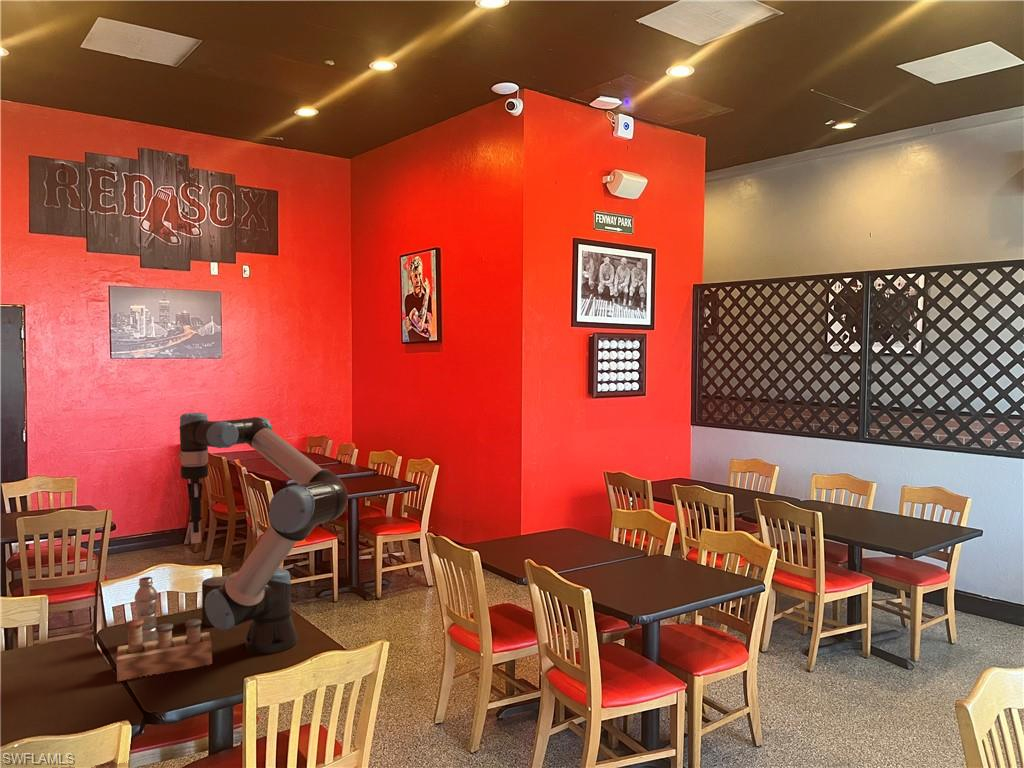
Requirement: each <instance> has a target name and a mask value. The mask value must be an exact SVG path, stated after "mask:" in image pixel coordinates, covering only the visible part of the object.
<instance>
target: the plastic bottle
mask: <svg viewBox="0 0 1024 768" xmlns="http://www.w3.org/2000/svg"><path fill="white" fill-rule="evenodd" d="M138 580H139V582H138V586H139V587H138V589H137V590H136V592H135V595H134V602H135V607H136V619H142V620H144V624H143V625H142V642H149V641H156V640H158V632H157V631H156V627H157V626H158V623H157V603H158V592H157V590H156V588H155V587H154V586H153V577H152V576H145V577H141V578H139V579H138Z"/></svg>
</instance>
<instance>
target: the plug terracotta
mask: <svg viewBox="0 0 1024 768" xmlns="http://www.w3.org/2000/svg"><path fill="white" fill-rule="evenodd" d="M143 624H144V620H142V619H137V618H136V619H130V620H128V621H127V622H126V623H125V627H126V628H127V645H128V654H133V653H139V652H143V642H142V625H143Z"/></svg>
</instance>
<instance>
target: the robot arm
mask: <svg viewBox="0 0 1024 768" xmlns="http://www.w3.org/2000/svg"><path fill="white" fill-rule="evenodd" d="M178 428H179V443H180V445H179V446H180V454H178V455H177V456H178V458H180V465H181V466H180V478H181V479H183V480H189V483H187V484H186V485H187V490H188V492H187V493H188V498H189V510H190V511H189V513H190V514H189V517H190V519H188V523H190V544H198V543H202V531H201V530H202V528H201V527H202V526H201V525H202V523H201V521H202V520H203V517H202V516H201V513H202V511H201V510H202V509H201V507H202V505H201V503H202V502H201V500H202V497H203V496H202V494H203V493H202V491H203V483H202V482H200V479H205V478H208V477H209V465H208V463H209V449H208V447H209V448H210V447H211V448H217V449H226V448H231V447H233V446H236V445H242V444H243V445H244V444H247V445H249V446H250V447H251V448H253V450H255V451H256V452H258V453H259V454H260V455H262V457H264V458H265V459H266V460H267V461H268V462H269V463H271V464H272V465H274V466H275V467H277V469H279V470H280V471H281V472H282V473H284V474H285V475H286V476H287V477H289V478H290V479H291V480H292V481H294V482H295V483H296V484H295V485H294V484H293V485H290V486H287V487H285V488H282V489H279V490H278V491H277V492H276V493H275V494H274V495H273V496H272V498H271V499H270V502H269V505H268V509H269V511H268V513H267V514H268V518H269V527H267V529H266V531H265V532H264V534H263V536H262V537H261V538H260V539H259V540H258V542H257V544H256V545H255V547H254V548H253V550H252V551H251V553H250V554H249V556H247V558H246V560H245V561H244V563H243V564H242V566H241V567H240V569H239V570H238V571H235V572H232V573H231V574H230V575H229V576H227V577H228V578H227V580H226V581H225V582H224V584H223V585H222V587H220V588H219V589H214V590H213V591H211V592H209V593H208V594H207V596H206V599H205V609H206V614H207V617H208V619H209V621H210V622H211V623H212V625H213V626H212V627H215V628H216V629H218V630H220V631H225V630H228V629H234V627H237V626H239V625H242V624H243V623H246V622H250V625H249V628H248V631H247V633H246V637H245V649H246V650H247V651H249V652H250V653H254V654H255V653H256V654H273V653H274V654H275V653H278V652H279V653H280V652H282V651H286V650H288V649H290V648H292V647H294V646H295V645H297V643H298V632H297V629H296V626H295V624H294V623H295V622H294V621H293V618H292V581H291V573H290V572H289V570H287V569H285V568H280V566H281V565H282V563H283V562H284V560H285V559H286V558H287V556H288V555H289V554H290V552H291V551H292V549H294V547H295V545H296V544H297V543H299V542H302V541H304V540H306V539H307V538H308V537H309V535H310V534H311V533H312V531H313V530H314V528H315V527H316V526H318V525H321V524H324V523H328V522H332V521H334V520H336V519H338V518H339V517H340V516H342V515H343V513H344V511H345V510H346V508H347V506H348V501H349V493H348V489H347V486H346V485H345V483H344V482H343V481H342V479H341V478H340V477H339V476H338V475H336V473H334V472H333V471H332V470H330V469H328V468H322V467H321V466H319V465H318V464H316V463H315V462H314V461H313V460H311V459H310V458H309V457H307V456H306V455H305V454H303V453H302V452H301V451H299V450H298V449H297V448H295V447H294V445H292V444H290V443H289V442H288V441H286V440H285V439H283V438H282V437H281V436H280V435H278V434H277V433H276V432H274V430H273V425H272V423H271V421H270V419H268V418H266V417H260V416H259V417H256V416H254V417H247V418H239V419H237V418H236V419H227V420H217V421H216V420H215V421H214V420H208V416H207V414H206V412H205V413H204V412H188V413H183V414H181V415H180V417H179V427H178Z"/></svg>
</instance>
